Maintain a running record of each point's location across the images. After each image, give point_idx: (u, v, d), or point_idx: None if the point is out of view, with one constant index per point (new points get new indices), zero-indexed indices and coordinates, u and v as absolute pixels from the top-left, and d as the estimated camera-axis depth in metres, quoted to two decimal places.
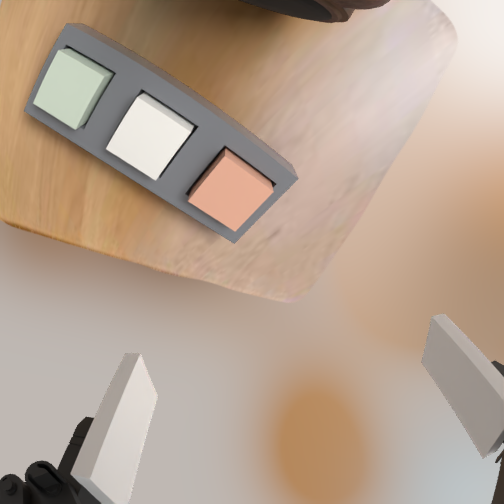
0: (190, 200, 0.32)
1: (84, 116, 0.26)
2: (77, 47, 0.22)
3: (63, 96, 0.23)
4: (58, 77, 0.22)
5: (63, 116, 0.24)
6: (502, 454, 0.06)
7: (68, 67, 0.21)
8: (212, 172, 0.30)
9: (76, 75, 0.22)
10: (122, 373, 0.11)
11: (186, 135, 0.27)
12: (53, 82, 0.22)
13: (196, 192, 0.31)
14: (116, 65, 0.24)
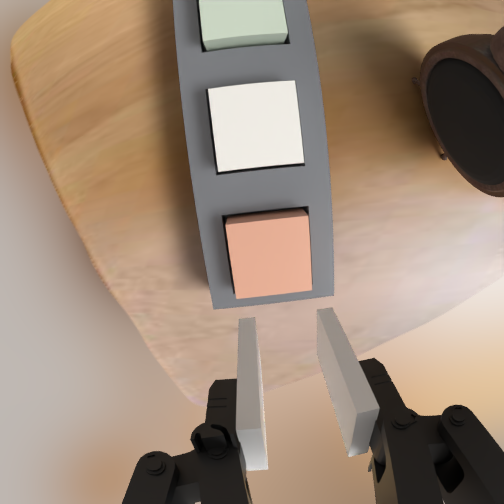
0: (228, 226, 0.24)
1: (222, 41, 0.20)
2: None
3: (231, 4, 0.18)
4: None
5: (208, 18, 0.18)
6: (371, 464, 0.08)
7: None
8: (280, 220, 0.24)
9: (265, 4, 0.18)
10: (246, 335, 0.13)
11: (297, 161, 0.22)
12: None
13: (243, 224, 0.24)
14: (298, 39, 0.20)
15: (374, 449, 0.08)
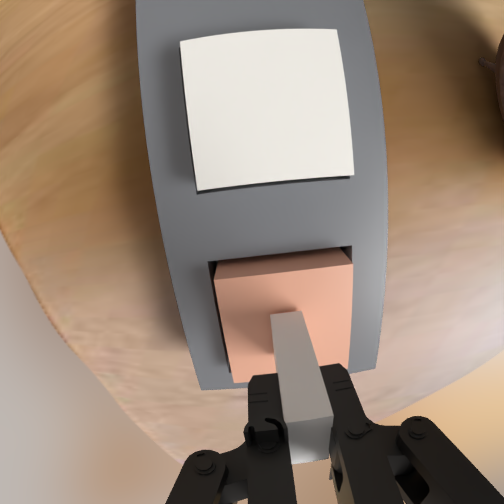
0: (219, 283, 0.14)
1: None
2: None
3: None
4: None
5: None
6: (331, 472, 0.08)
7: None
8: (307, 271, 0.14)
9: None
10: (279, 329, 0.13)
11: (342, 171, 0.12)
12: None
13: (245, 279, 0.14)
14: None
15: (331, 458, 0.08)
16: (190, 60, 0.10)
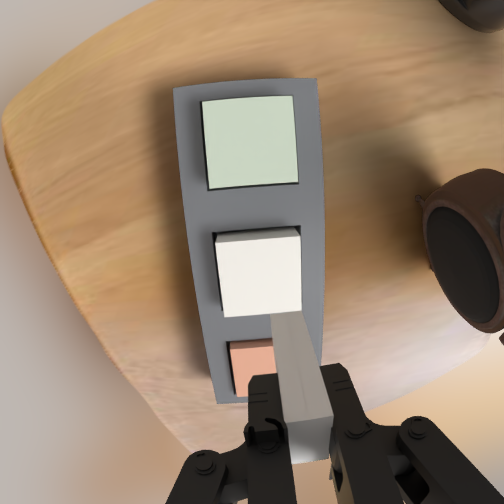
0: (232, 350, 0.27)
1: None
2: (298, 112, 0.22)
3: (240, 143, 0.21)
4: (259, 119, 0.20)
5: (214, 160, 0.21)
6: (331, 472, 0.08)
7: (279, 125, 0.21)
8: None
9: (276, 144, 0.21)
10: (280, 329, 0.13)
11: (295, 309, 0.25)
12: (248, 115, 0.20)
13: (245, 349, 0.27)
14: (307, 178, 0.24)
15: (331, 458, 0.08)
16: (221, 255, 0.23)
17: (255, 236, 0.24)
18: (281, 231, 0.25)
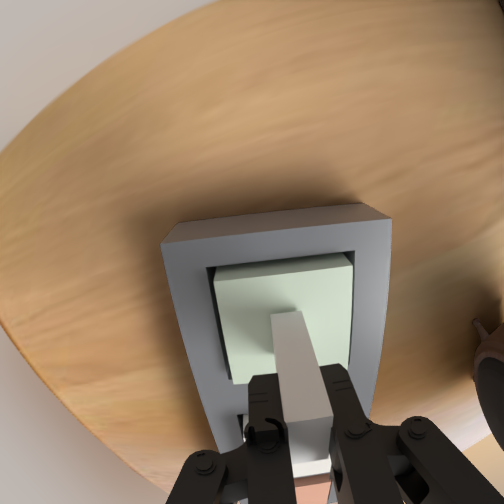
0: None
1: None
2: (359, 277, 0.15)
3: None
4: (302, 305, 0.14)
5: (238, 356, 0.15)
6: (331, 472, 0.08)
7: (331, 309, 0.14)
8: (306, 485, 0.21)
9: (324, 333, 0.15)
10: (280, 329, 0.13)
11: None
12: (286, 300, 0.14)
13: None
14: (360, 356, 0.17)
15: (331, 458, 0.08)
16: None
17: None
18: None
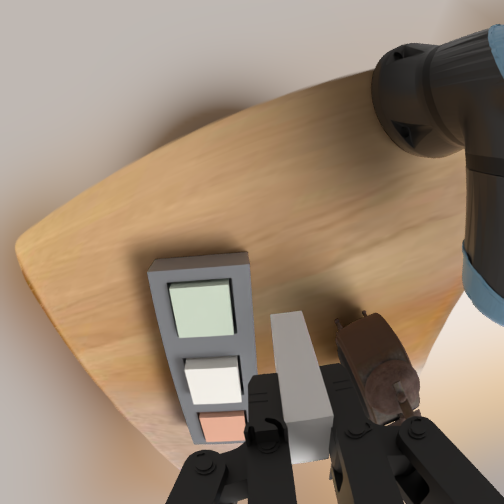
0: (201, 418, 0.39)
1: None
2: (235, 290, 0.34)
3: (195, 314, 0.33)
4: (207, 300, 0.33)
5: (180, 323, 0.34)
6: (331, 472, 0.08)
7: (220, 303, 0.33)
8: (228, 417, 0.39)
9: (219, 314, 0.34)
10: (280, 329, 0.13)
11: (237, 401, 0.37)
12: (200, 298, 0.33)
13: (209, 418, 0.39)
14: (242, 329, 0.35)
15: (331, 458, 0.08)
16: (188, 375, 0.35)
17: (209, 364, 0.36)
18: (227, 358, 0.37)
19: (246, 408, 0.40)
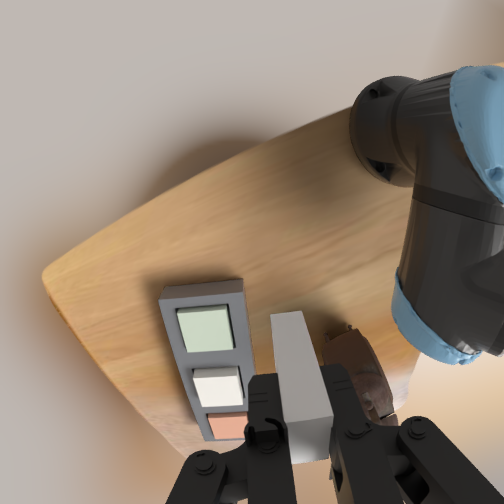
0: (209, 418, 0.46)
1: None
2: (232, 313, 0.40)
3: (200, 333, 0.40)
4: (209, 322, 0.39)
5: (188, 340, 0.40)
6: (331, 472, 0.08)
7: (220, 324, 0.39)
8: (233, 417, 0.46)
9: (219, 333, 0.40)
10: (279, 330, 0.13)
11: (239, 404, 0.43)
12: (202, 320, 0.39)
13: (216, 418, 0.46)
14: (240, 344, 0.41)
15: (331, 458, 0.08)
16: (196, 382, 0.42)
17: (214, 373, 0.42)
18: (228, 368, 0.43)
19: None
